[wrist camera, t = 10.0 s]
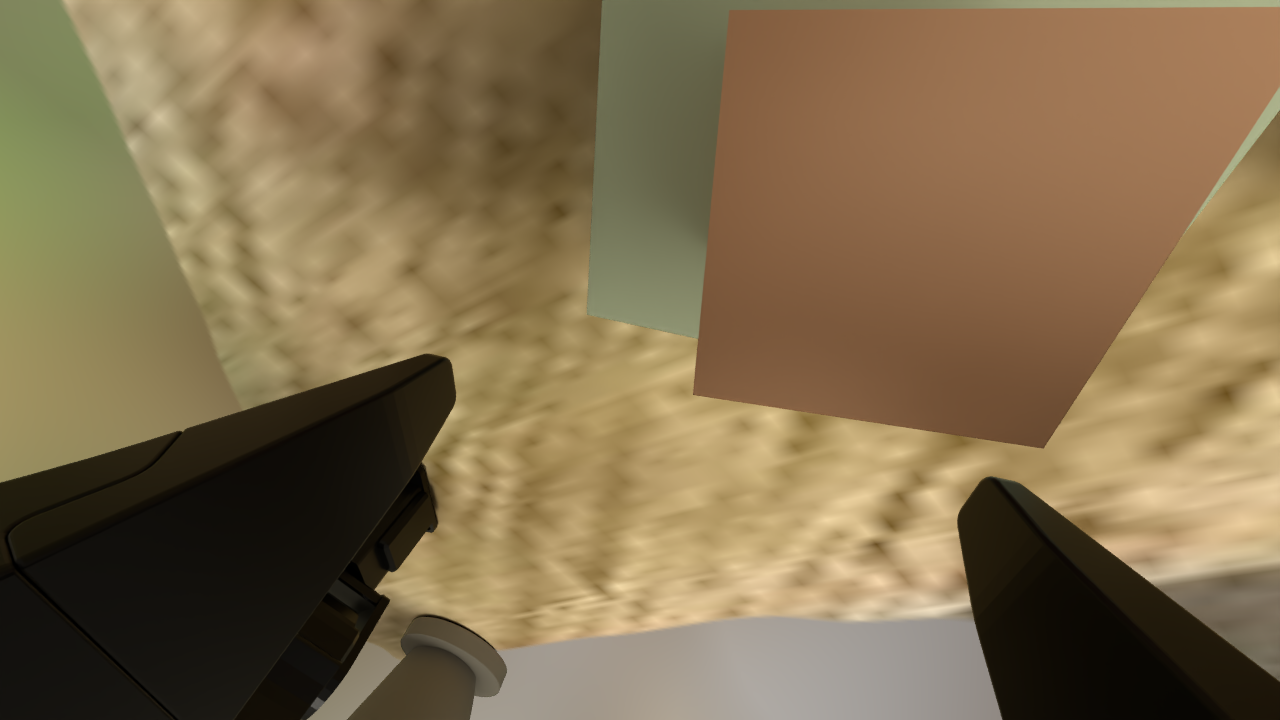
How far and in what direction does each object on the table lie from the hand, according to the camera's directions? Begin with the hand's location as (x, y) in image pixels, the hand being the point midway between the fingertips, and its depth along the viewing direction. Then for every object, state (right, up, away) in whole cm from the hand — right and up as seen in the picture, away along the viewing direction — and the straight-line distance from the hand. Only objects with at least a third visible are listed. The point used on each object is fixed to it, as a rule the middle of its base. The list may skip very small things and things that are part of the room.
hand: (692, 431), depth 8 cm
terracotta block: (+4, +6, +3) cm, 7 cm away
